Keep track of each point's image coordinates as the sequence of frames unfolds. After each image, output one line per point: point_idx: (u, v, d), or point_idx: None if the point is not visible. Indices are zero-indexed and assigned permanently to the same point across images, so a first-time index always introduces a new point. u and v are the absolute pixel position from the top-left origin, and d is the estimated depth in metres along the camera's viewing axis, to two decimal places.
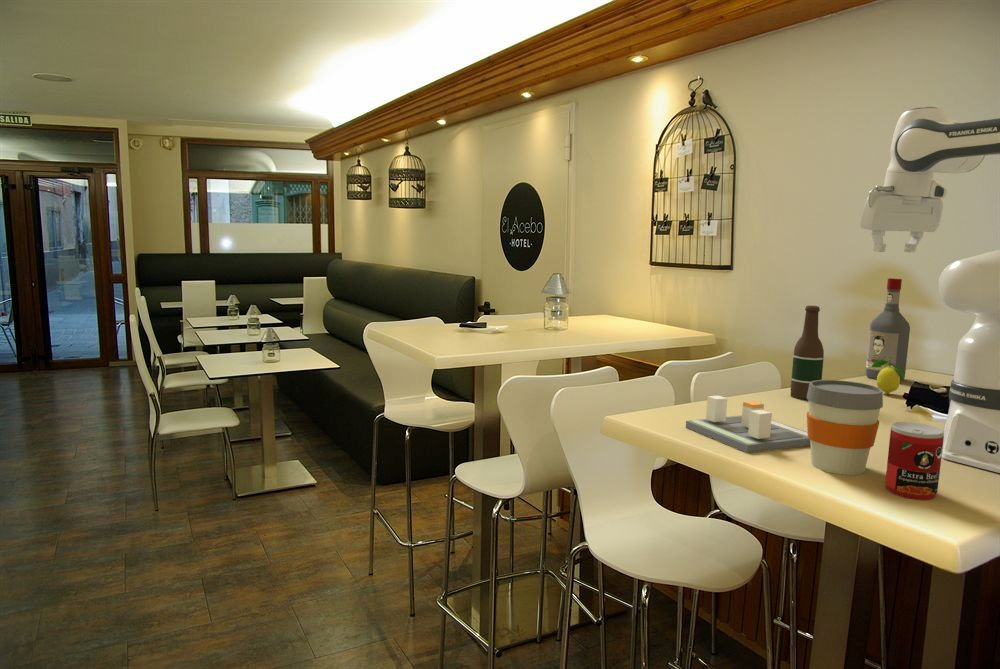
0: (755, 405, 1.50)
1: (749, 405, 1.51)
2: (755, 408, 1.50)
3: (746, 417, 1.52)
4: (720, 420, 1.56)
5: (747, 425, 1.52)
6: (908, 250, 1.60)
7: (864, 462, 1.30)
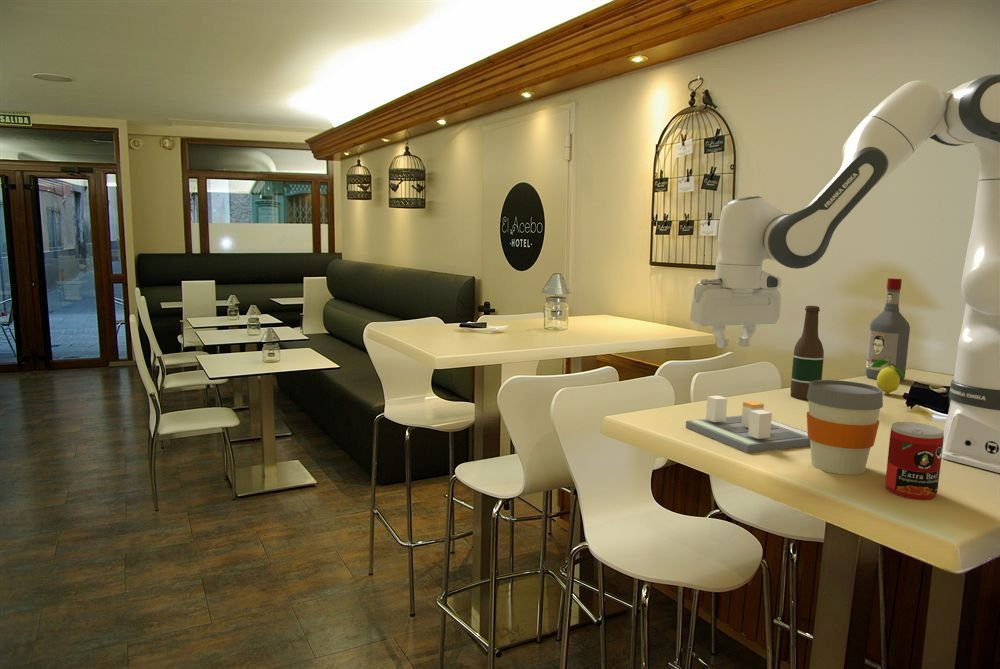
0: (755, 405, 1.50)
1: (749, 405, 1.51)
2: (755, 408, 1.50)
3: (746, 417, 1.52)
4: (720, 420, 1.56)
5: (747, 425, 1.52)
6: (741, 344, 1.48)
7: (864, 462, 1.30)
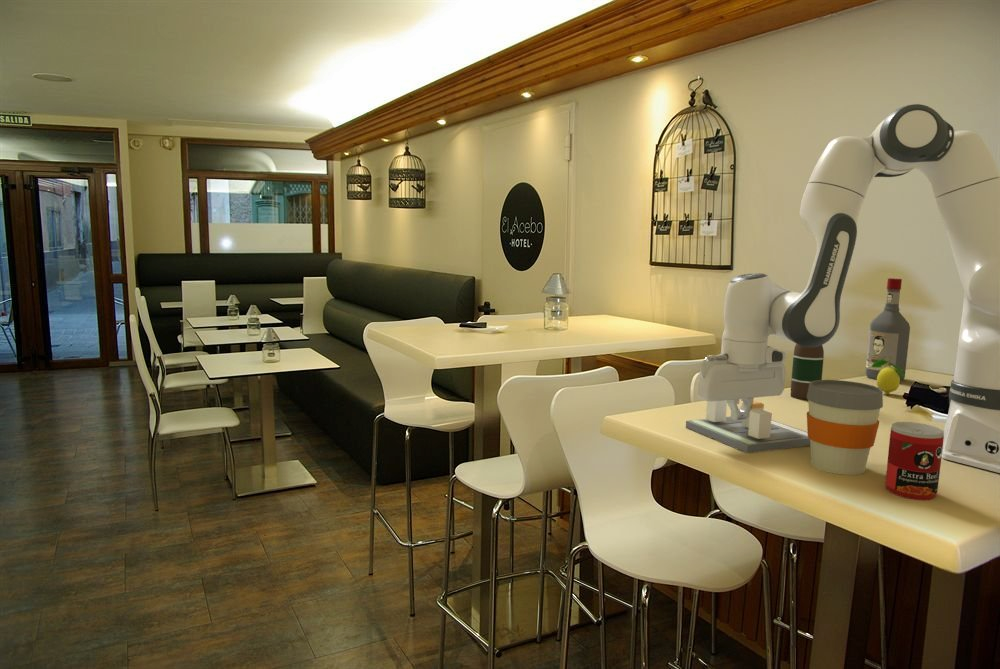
0: (755, 405, 1.50)
1: None
2: (755, 408, 1.50)
3: None
4: (720, 420, 1.56)
5: (747, 425, 1.52)
6: None
7: (864, 462, 1.30)
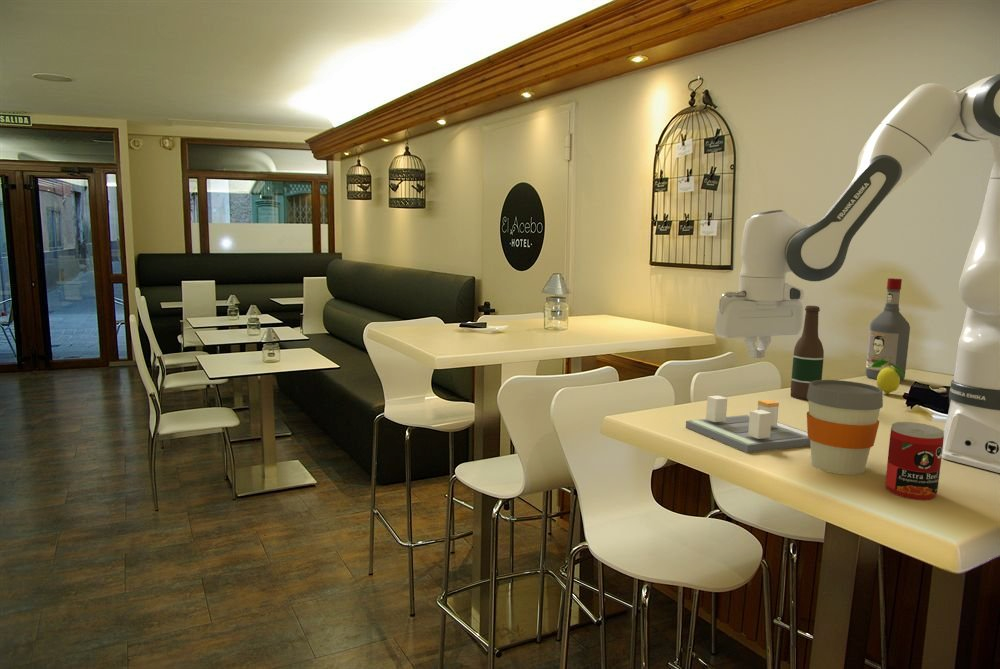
0: (770, 404, 1.52)
1: (764, 404, 1.52)
2: (770, 407, 1.52)
3: None
4: (720, 420, 1.56)
5: None
6: None
7: (864, 462, 1.30)
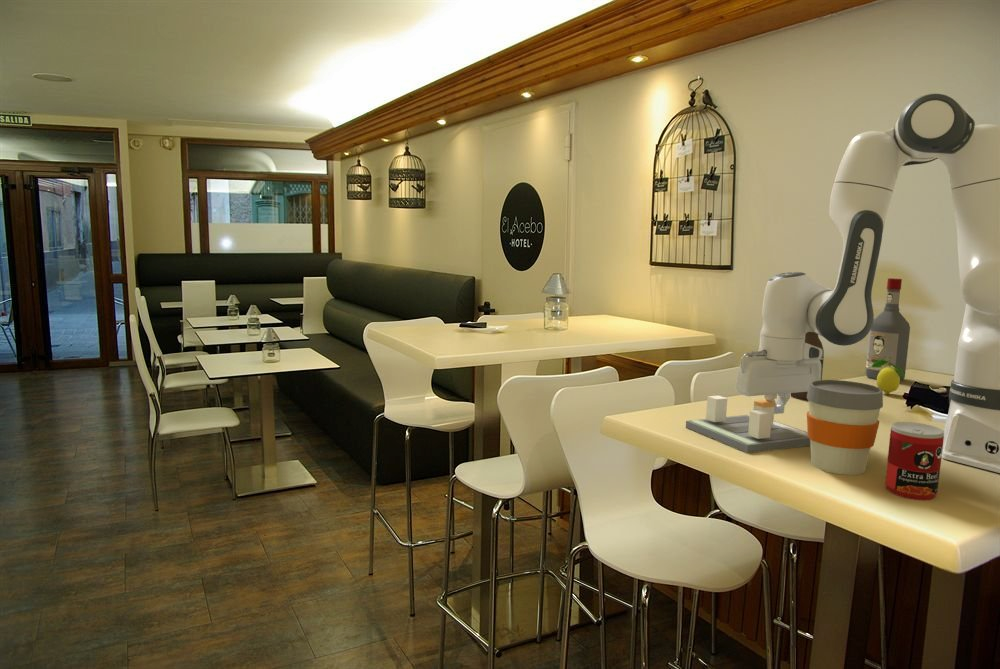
0: (766, 404, 1.52)
1: (760, 404, 1.52)
2: (766, 407, 1.52)
3: None
4: (720, 420, 1.56)
5: None
6: None
7: (864, 462, 1.30)
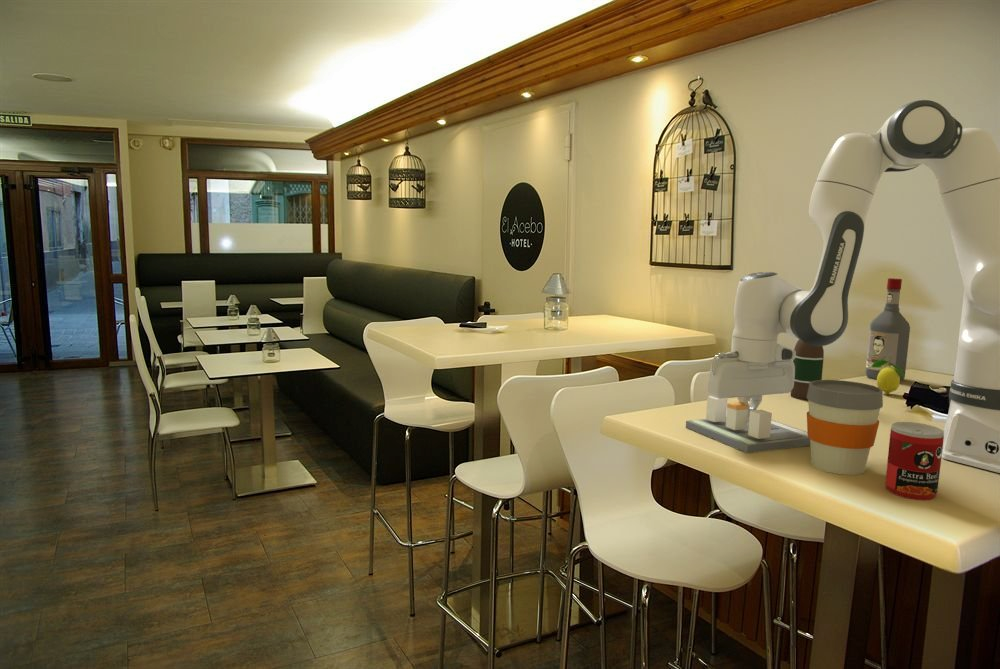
0: (739, 406, 1.49)
1: (733, 406, 1.49)
2: (739, 409, 1.49)
3: (730, 419, 1.50)
4: (720, 420, 1.56)
5: (731, 427, 1.50)
6: None
7: (864, 462, 1.30)
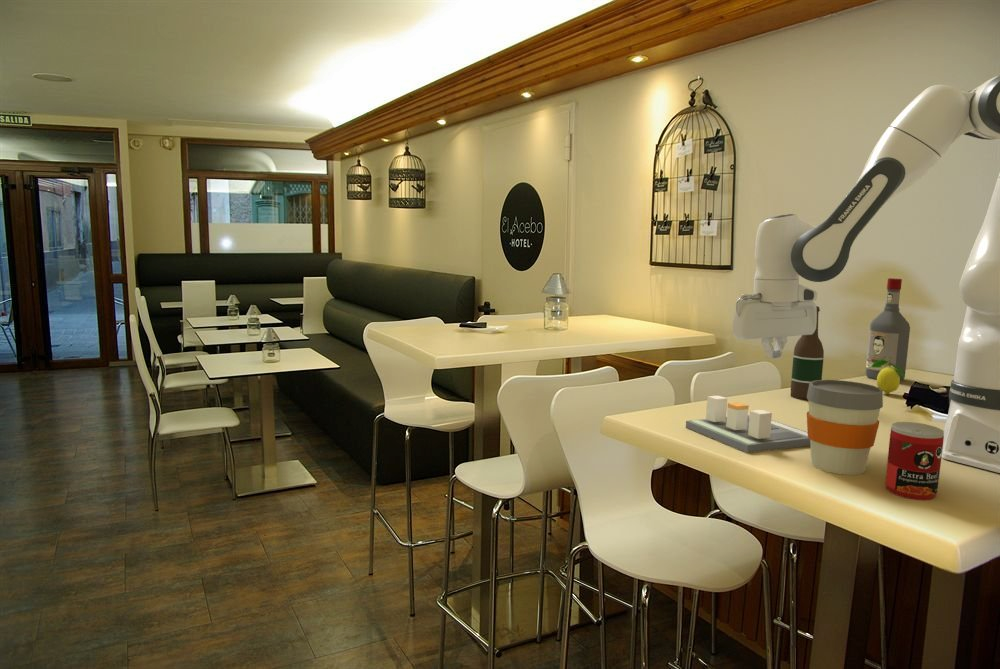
0: (740, 406, 1.49)
1: (734, 406, 1.49)
2: (740, 409, 1.49)
3: (731, 419, 1.50)
4: (720, 420, 1.56)
5: (732, 427, 1.50)
6: None
7: (864, 462, 1.30)
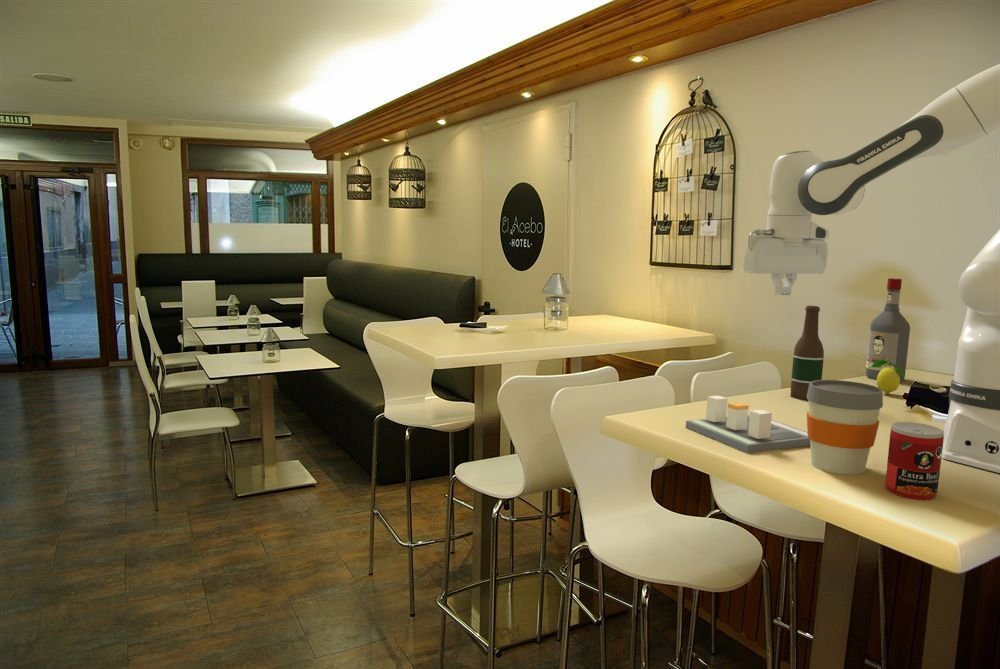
0: (740, 406, 1.49)
1: (734, 406, 1.49)
2: (740, 409, 1.49)
3: (731, 419, 1.50)
4: (720, 420, 1.56)
5: (732, 427, 1.50)
6: None
7: (864, 462, 1.30)
